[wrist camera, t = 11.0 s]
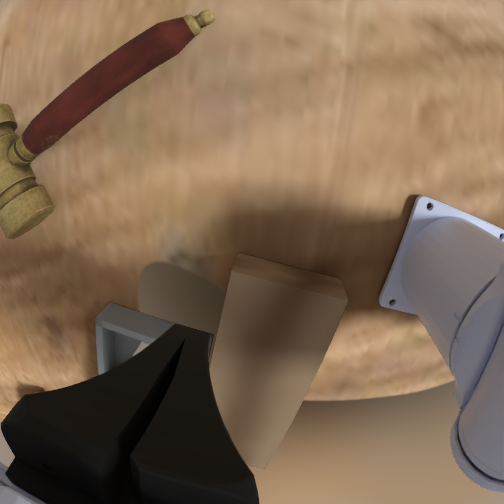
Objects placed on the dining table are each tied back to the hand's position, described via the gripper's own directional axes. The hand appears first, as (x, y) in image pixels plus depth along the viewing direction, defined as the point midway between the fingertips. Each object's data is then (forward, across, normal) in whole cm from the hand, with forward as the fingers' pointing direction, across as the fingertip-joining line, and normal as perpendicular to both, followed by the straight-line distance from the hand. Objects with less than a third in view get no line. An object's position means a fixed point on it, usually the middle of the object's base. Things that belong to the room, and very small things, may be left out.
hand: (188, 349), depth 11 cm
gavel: (+11, +12, -8) cm, 18 cm away
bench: (+10, -4, +9) cm, 15 cm away
